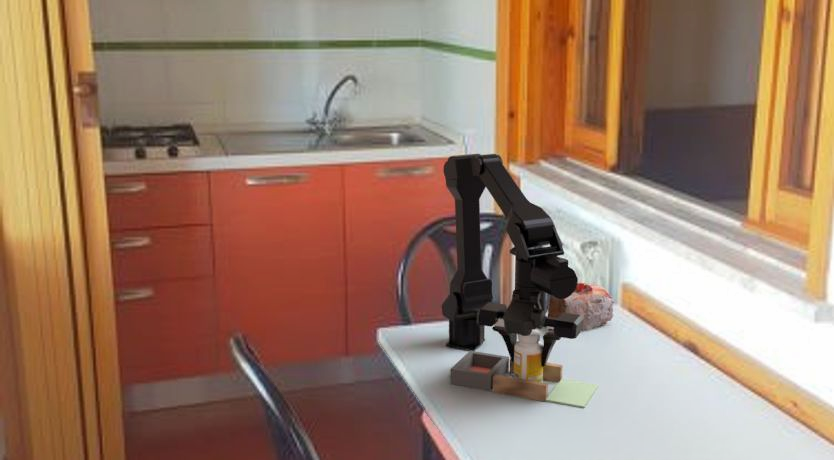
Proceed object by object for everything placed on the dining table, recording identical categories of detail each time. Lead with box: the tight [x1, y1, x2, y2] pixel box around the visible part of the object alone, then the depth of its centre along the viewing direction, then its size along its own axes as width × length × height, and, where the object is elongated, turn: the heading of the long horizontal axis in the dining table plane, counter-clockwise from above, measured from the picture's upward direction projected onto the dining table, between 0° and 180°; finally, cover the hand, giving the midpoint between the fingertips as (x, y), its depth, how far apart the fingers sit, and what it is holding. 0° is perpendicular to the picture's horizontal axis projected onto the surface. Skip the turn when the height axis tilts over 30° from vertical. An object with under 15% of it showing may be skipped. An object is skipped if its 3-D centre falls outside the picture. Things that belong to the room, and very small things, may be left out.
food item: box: [547, 282, 615, 332], centre depth 202 cm, size 14×8×10 cm, turn 121°
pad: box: [545, 378, 599, 409], centre depth 169 cm, size 7×10×1 cm
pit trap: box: [449, 350, 510, 392], centre depth 176 cm, size 8×10×3 cm
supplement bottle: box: [513, 329, 544, 382], centre depth 171 cm, size 5×5×10 cm
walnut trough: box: [492, 357, 563, 402], centre depth 172 cm, size 10×10×3 cm
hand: (528, 363), depth 171 cm, fingers closed on supplement bottle, 5 cm apart
